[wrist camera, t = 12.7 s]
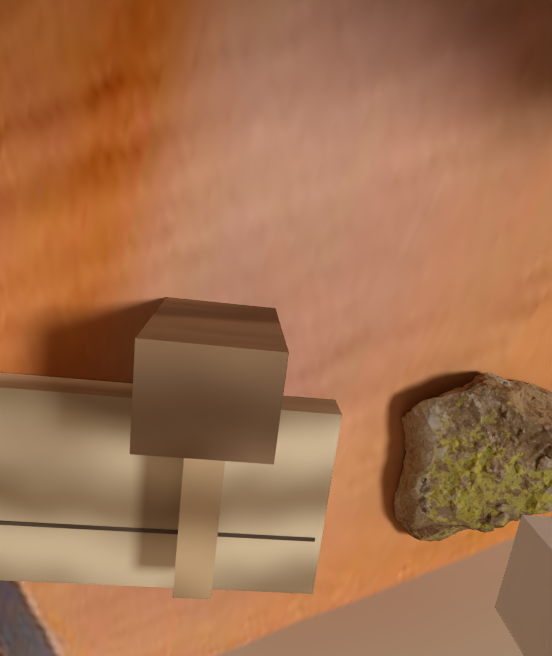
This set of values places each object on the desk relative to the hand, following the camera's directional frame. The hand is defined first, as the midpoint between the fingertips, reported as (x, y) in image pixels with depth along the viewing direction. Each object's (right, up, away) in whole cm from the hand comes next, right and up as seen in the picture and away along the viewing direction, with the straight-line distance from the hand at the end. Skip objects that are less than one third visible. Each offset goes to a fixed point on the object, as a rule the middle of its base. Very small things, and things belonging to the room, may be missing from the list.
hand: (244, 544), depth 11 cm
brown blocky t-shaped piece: (-3, -1, +17) cm, 18 cm away
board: (-10, -4, +17) cm, 21 cm away
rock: (+13, -2, +19) cm, 23 cm away
